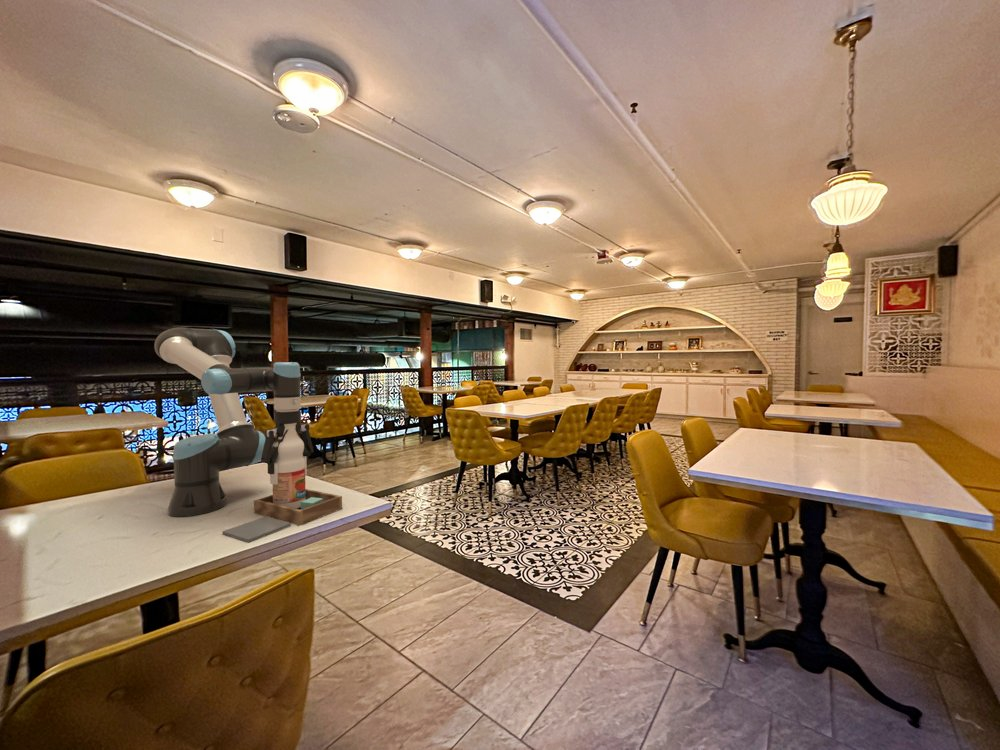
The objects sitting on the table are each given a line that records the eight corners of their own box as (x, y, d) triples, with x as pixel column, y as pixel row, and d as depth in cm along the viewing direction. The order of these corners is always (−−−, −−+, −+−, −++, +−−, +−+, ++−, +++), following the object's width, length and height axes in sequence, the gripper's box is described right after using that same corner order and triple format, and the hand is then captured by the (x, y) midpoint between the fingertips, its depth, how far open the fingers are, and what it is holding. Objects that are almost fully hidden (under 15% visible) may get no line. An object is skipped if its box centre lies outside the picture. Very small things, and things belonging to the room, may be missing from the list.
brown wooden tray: (254, 513, 127) (253, 500, 126) (297, 498, 140) (297, 487, 140) (300, 525, 116) (299, 511, 116) (342, 508, 130) (341, 496, 130)
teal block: (301, 516, 124) (300, 501, 124) (312, 511, 128) (311, 497, 128) (312, 517, 122) (312, 503, 122) (323, 512, 127) (323, 498, 126)
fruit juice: (274, 503, 132) (272, 418, 132) (306, 499, 136) (304, 416, 135) (271, 513, 124) (269, 422, 123) (305, 508, 128) (304, 420, 127)
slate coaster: (222, 534, 111) (222, 531, 111) (265, 519, 122) (265, 516, 122) (248, 542, 105) (248, 539, 105) (290, 526, 116) (290, 523, 116)
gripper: (260, 415, 118) (262, 491, 118) (325, 407, 137) (326, 472, 138) (245, 413, 121) (247, 487, 122) (310, 406, 141) (311, 469, 141)
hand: (289, 479), depth 130 cm, fingers closed on fruit juice, 9 cm apart
